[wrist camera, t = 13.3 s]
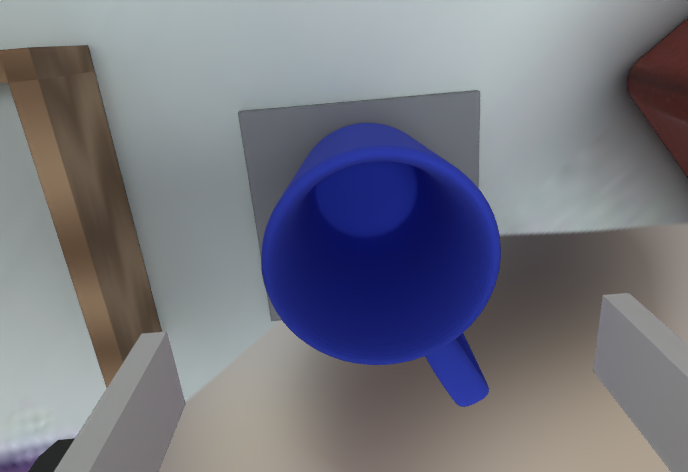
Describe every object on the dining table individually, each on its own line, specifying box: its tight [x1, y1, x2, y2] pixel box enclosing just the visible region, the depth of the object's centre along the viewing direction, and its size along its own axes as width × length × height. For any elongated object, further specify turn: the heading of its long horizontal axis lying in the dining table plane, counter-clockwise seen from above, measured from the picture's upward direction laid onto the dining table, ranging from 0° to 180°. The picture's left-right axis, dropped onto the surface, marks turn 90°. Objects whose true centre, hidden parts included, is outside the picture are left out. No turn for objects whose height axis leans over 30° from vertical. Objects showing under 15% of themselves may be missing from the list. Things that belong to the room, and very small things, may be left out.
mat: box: [238, 90, 480, 321], centre depth 27 cm, size 12×12×1 cm
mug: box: [261, 123, 501, 407], centre depth 22 cm, size 8×12×10 cm
